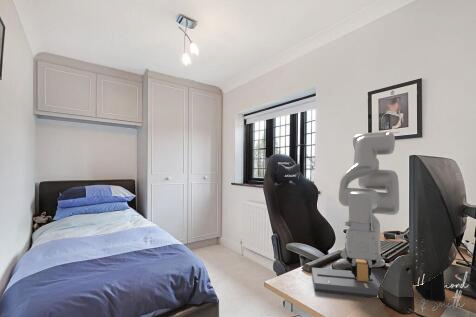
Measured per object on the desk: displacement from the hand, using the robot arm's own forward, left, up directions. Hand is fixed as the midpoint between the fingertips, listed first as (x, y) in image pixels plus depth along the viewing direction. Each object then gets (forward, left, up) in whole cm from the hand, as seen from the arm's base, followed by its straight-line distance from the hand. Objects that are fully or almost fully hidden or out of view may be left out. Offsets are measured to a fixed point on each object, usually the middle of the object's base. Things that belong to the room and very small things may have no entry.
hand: (361, 275), depth 85 cm
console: (0, -6, -4) cm, 7 cm away
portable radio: (+1, +21, -4) cm, 22 cm away
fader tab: (0, 0, -3) cm, 3 cm away
